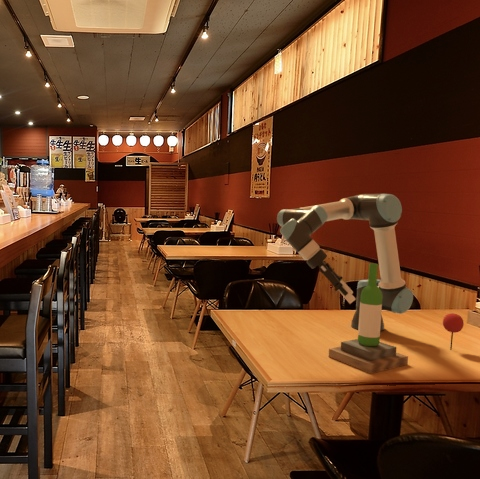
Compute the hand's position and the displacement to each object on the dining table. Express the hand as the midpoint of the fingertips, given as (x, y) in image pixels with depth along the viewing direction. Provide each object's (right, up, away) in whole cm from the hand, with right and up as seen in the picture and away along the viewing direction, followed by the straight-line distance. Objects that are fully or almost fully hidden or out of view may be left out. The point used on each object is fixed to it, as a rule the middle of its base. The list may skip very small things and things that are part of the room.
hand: (351, 297), depth 171 cm
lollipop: (+45, -24, +19) cm, 55 cm away
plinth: (+6, -23, +1) cm, 24 cm away
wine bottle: (+6, -17, +1) cm, 18 cm away
